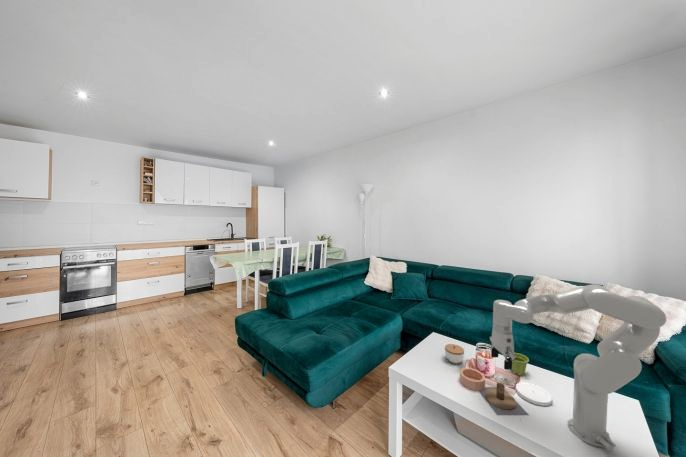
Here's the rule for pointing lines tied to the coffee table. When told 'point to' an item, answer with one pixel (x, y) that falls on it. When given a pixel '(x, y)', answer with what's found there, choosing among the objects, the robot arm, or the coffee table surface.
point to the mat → (498, 411)
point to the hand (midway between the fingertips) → (501, 362)
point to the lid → (500, 398)
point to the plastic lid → (534, 394)
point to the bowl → (472, 379)
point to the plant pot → (519, 364)
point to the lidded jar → (454, 353)
